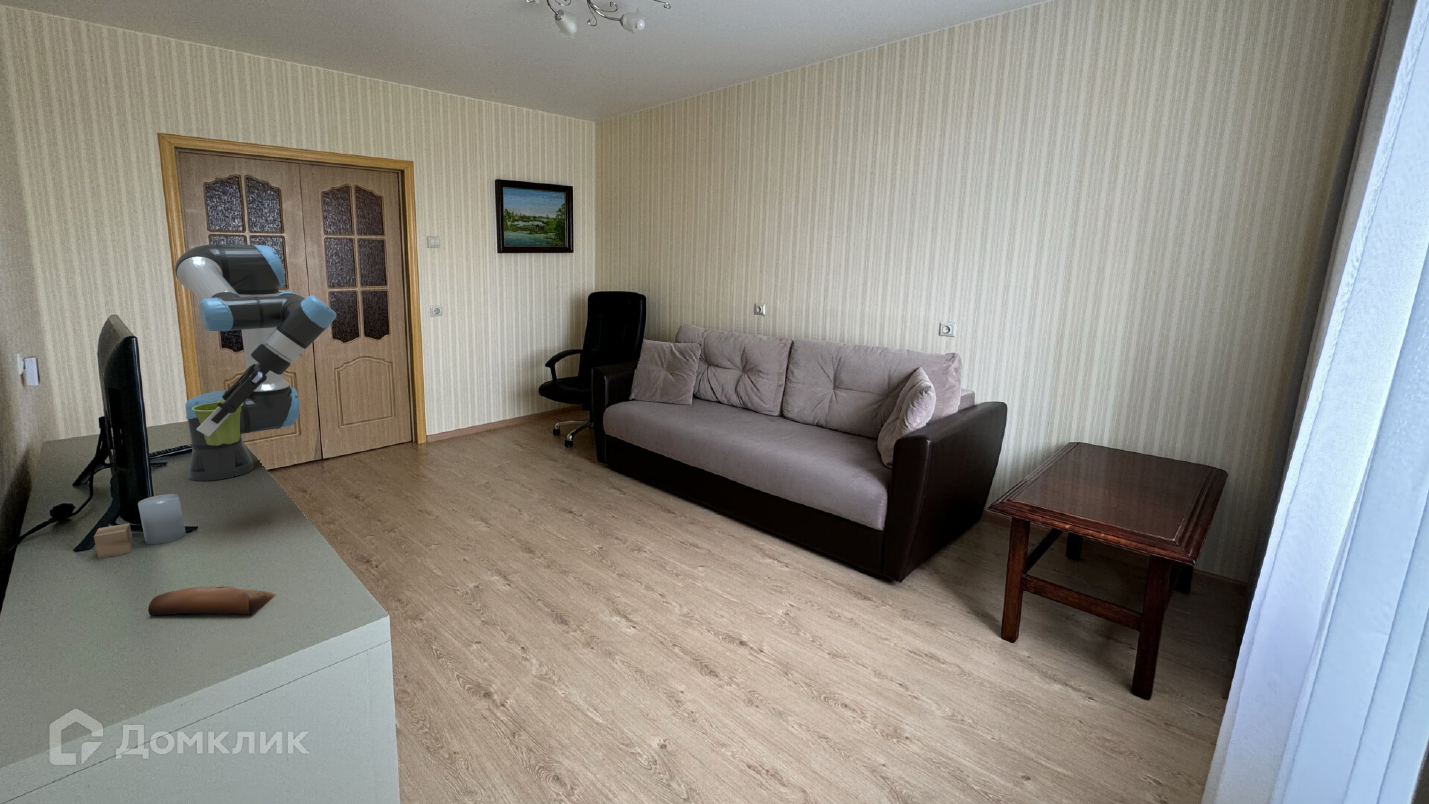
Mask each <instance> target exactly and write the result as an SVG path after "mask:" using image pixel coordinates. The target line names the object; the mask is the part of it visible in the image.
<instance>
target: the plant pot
mask: <svg viewBox="0 0 1429 804" xmlns="http://www.w3.org/2000/svg"><path fill="white" fill-rule="evenodd" d="M224 402H225V401H223V402H213V403H206V404H201V405H198V406H195V407H193V408H192V411H194V412H195V414H196V416H197V417H198V419H199V422H200V425H201V424H202V423H203V422H204V421H205V420H206V419H207V418H208V417H209V416H210V415H211V414H212V413H213V412H214V411H215V410H216V409H217V408H218V407H219V406H217V404H218V403H221V404H223V403H224ZM230 405H231V404H230ZM241 406H243V403H242V404H241V405H240V406H239V407H238V409H237V410H236V412H234V413H231V414H230V415H229V417H228V418H227V419H226V420H225V421H224V422H223V423H222V424H221V425H220V426H219V427H218V428H217V429H216V430H215V431H214V432H213V433H212V434H211V435H210V436H209V437H208V436H207V435H205V434H204V437H205V440H206V443H207V444H208V445H215V446H218V445H221V444H232V443H235V442H237V441H239V439H240V412H241Z"/></svg>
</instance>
